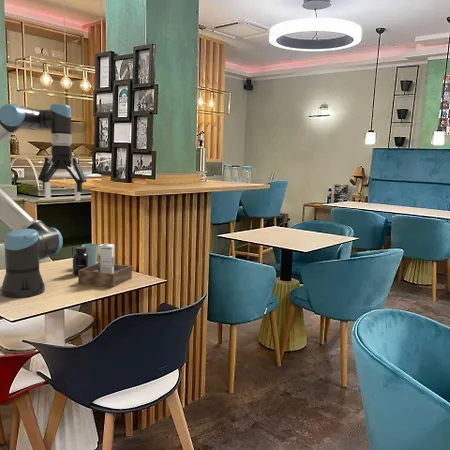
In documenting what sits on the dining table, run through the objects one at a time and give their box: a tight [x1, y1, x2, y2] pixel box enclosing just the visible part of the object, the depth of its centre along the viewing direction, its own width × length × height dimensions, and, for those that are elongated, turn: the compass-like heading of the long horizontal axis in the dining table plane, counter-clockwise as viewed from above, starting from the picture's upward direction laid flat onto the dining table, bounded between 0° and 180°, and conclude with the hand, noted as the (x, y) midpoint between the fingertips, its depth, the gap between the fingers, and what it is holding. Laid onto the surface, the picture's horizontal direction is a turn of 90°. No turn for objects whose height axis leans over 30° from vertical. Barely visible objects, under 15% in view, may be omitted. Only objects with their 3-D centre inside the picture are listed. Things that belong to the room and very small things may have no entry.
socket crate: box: [77, 262, 133, 288], centre depth 191 cm, size 16×16×6 cm
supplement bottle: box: [72, 246, 89, 276], centre depth 200 cm, size 7×7×12 cm
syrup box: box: [97, 243, 115, 273], centre depth 190 cm, size 6×6×14 cm
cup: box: [81, 243, 99, 266], centre depth 215 cm, size 8×8×10 cm
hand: (62, 199), depth 178 cm, fingers open, 13 cm apart
